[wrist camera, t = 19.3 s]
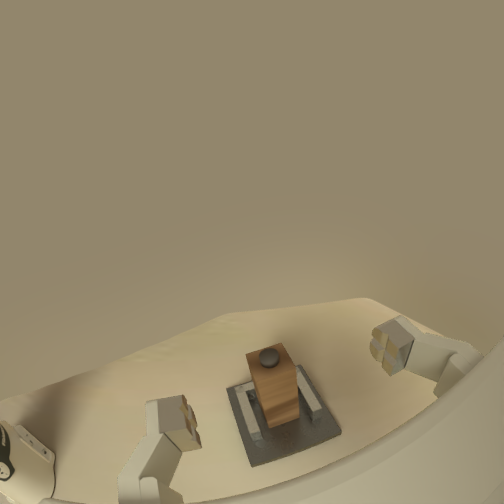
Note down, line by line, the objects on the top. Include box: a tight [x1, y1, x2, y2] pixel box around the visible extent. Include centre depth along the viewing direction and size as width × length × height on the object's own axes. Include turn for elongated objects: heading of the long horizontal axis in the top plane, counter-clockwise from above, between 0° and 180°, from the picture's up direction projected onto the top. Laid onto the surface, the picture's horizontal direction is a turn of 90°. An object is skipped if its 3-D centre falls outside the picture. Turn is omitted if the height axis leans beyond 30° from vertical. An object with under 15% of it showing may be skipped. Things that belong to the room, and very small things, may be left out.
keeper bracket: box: [226, 365, 341, 467], centre depth 37 cm, size 16×14×8 cm
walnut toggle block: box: [246, 343, 300, 428], centre depth 35 cm, size 5×5×14 cm
